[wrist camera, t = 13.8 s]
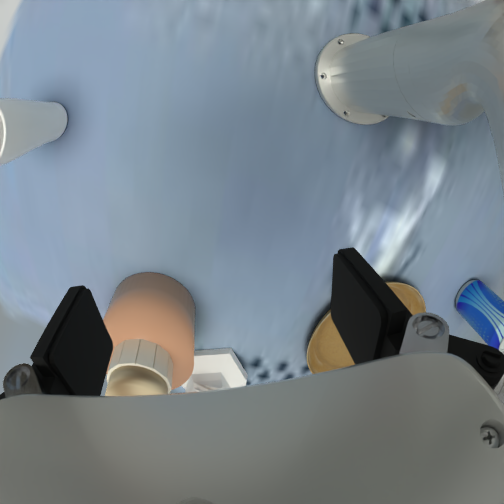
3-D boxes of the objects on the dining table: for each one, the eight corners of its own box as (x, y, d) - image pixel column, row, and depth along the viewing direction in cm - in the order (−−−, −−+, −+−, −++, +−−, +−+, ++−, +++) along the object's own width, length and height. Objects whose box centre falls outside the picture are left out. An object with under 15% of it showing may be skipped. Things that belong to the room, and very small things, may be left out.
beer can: (482, 288, 54) (525, 329, 39) (459, 315, 56) (499, 360, 42) (473, 270, 51) (522, 313, 36) (448, 299, 53) (493, 347, 39)
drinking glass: (64, 152, 32) (-3, 182, 19) (27, 138, 30) (-44, 162, 17) (81, 103, 30) (14, 107, 17) (42, 91, 28) (-30, 94, 15)
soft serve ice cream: (170, 383, 55) (148, 434, 41) (197, 327, 51) (174, 379, 37) (228, 408, 55) (217, 462, 42) (263, 357, 51) (259, 414, 38)
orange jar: (185, 266, 42) (177, 340, 29) (202, 336, 48) (203, 412, 34) (101, 278, 41) (67, 348, 28) (128, 343, 47) (111, 415, 34)
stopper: (160, 341, 33) (154, 384, 27) (176, 379, 36) (173, 420, 30) (106, 345, 32) (94, 386, 27) (126, 382, 36) (119, 421, 30)
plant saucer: (429, 263, 48) (439, 272, 45) (403, 357, 59) (409, 367, 56) (303, 285, 46) (309, 298, 43) (300, 383, 57) (304, 396, 54)
